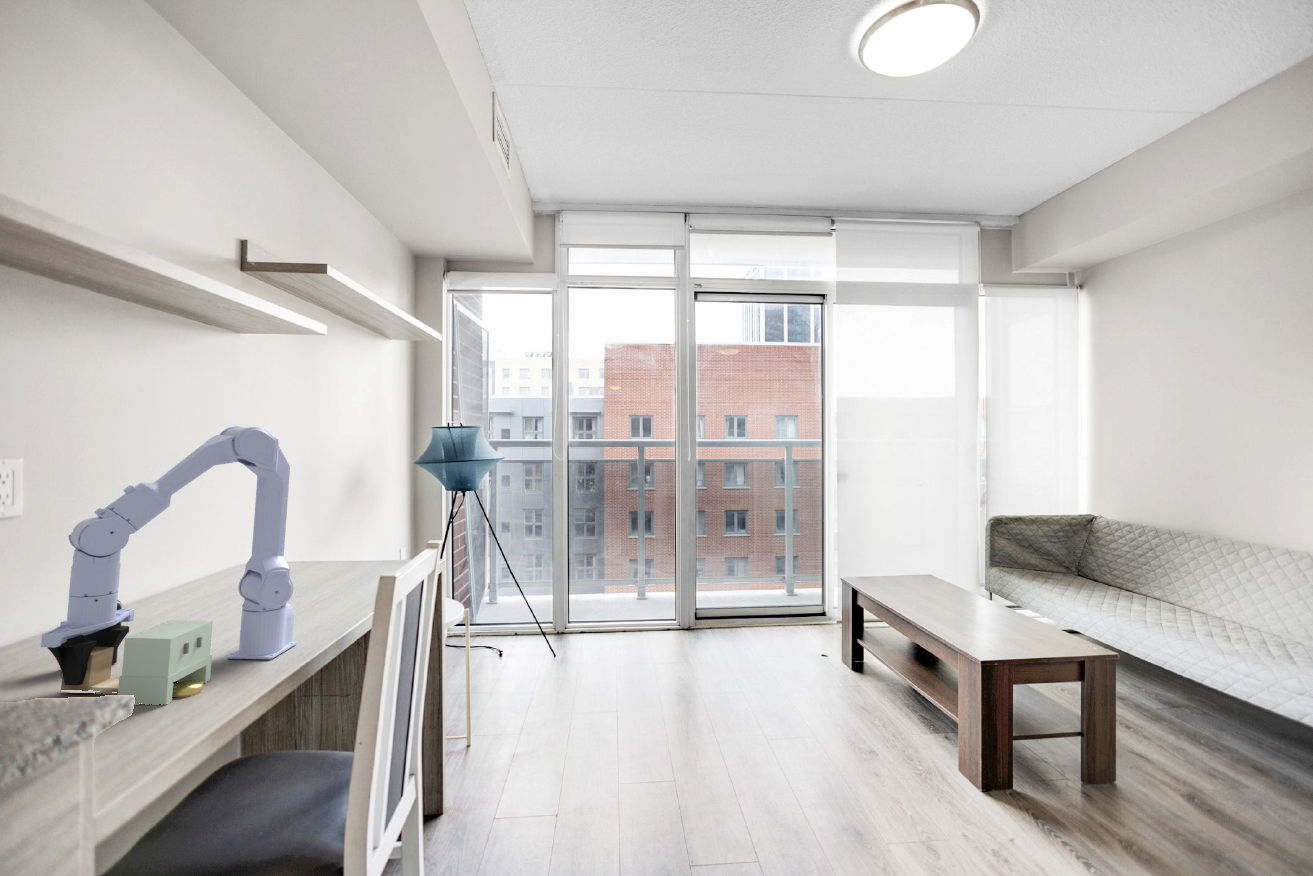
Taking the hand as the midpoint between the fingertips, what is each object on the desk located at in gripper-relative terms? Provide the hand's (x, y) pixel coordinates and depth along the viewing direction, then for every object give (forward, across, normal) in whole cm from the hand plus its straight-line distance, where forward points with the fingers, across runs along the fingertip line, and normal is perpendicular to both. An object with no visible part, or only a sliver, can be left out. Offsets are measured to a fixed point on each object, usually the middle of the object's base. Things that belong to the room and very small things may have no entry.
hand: (86, 678), depth 93 cm
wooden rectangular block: (+2, 0, +5) cm, 5 cm away
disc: (+2, 0, +15) cm, 15 cm away
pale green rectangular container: (+2, 0, +12) cm, 12 cm away
